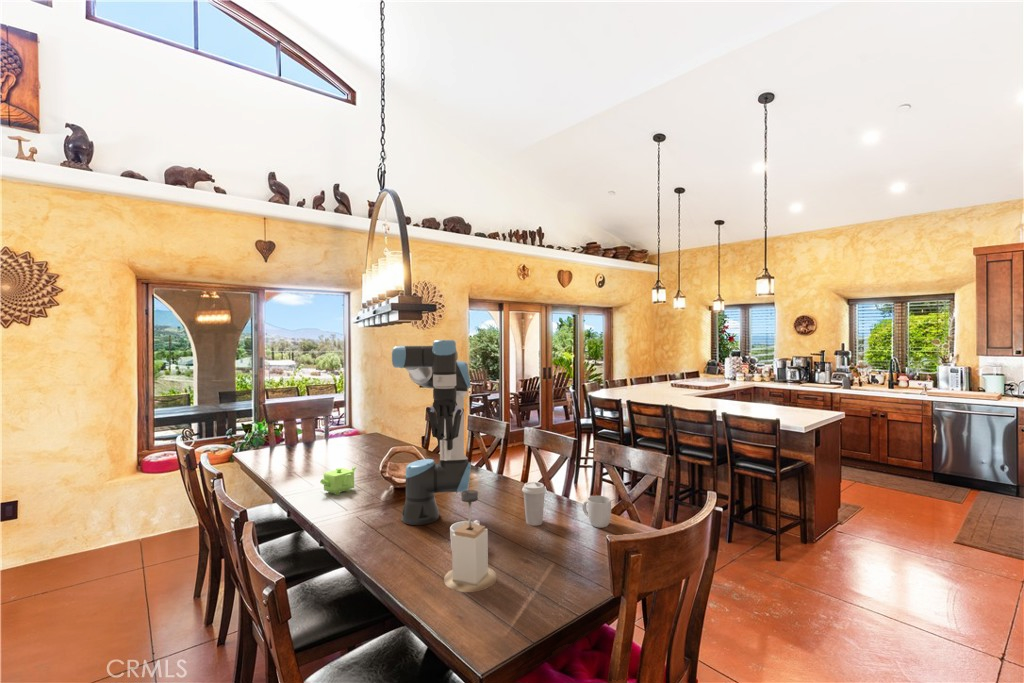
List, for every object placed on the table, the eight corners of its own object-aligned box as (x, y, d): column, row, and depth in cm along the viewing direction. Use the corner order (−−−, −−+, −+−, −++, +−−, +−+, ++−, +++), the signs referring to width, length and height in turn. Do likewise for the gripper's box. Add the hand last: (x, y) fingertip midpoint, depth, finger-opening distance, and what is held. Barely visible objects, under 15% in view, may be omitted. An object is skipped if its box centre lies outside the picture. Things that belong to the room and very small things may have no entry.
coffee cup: (544, 528, 181) (544, 489, 181) (520, 526, 183) (520, 488, 183) (547, 518, 190) (547, 481, 190) (524, 517, 192) (524, 480, 192)
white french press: (452, 581, 140) (451, 531, 140) (465, 569, 148) (464, 521, 148) (476, 586, 137) (475, 535, 137) (488, 573, 145) (487, 525, 144)
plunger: (456, 545, 141) (456, 494, 141) (466, 537, 146) (465, 488, 146) (474, 548, 138) (473, 497, 138) (483, 540, 144) (482, 490, 144)
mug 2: (615, 525, 183) (615, 499, 183) (601, 531, 177) (601, 505, 177) (590, 515, 193) (590, 491, 193) (576, 521, 187) (575, 496, 187)
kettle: (357, 486, 235) (357, 463, 234) (353, 495, 221) (353, 471, 220) (326, 488, 232) (325, 465, 231) (320, 497, 218) (319, 473, 218)
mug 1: (468, 559, 156) (467, 535, 156) (443, 552, 161) (443, 528, 161) (491, 544, 167) (490, 521, 167) (467, 537, 173) (467, 516, 173)
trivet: (433, 588, 138) (433, 585, 138) (460, 563, 153) (460, 561, 153) (482, 599, 132) (482, 596, 132) (504, 572, 147) (504, 570, 147)
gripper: (420, 387, 151) (420, 460, 152) (457, 389, 146) (458, 464, 146) (432, 385, 158) (433, 454, 158) (469, 386, 153) (469, 458, 153)
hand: (445, 459), depth 152 cm, fingers closed
